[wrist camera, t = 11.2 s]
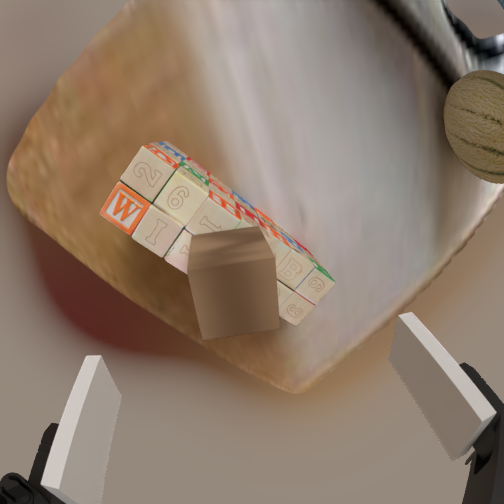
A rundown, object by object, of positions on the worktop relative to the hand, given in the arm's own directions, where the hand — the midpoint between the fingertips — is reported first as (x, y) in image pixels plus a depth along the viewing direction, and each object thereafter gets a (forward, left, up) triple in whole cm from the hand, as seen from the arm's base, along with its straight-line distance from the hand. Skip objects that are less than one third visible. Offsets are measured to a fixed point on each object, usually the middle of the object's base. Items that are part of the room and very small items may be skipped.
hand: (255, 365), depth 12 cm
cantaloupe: (-34, -11, -25) cm, 43 cm away
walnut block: (0, +1, -12) cm, 12 cm away
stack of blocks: (0, +1, -25) cm, 25 cm away
